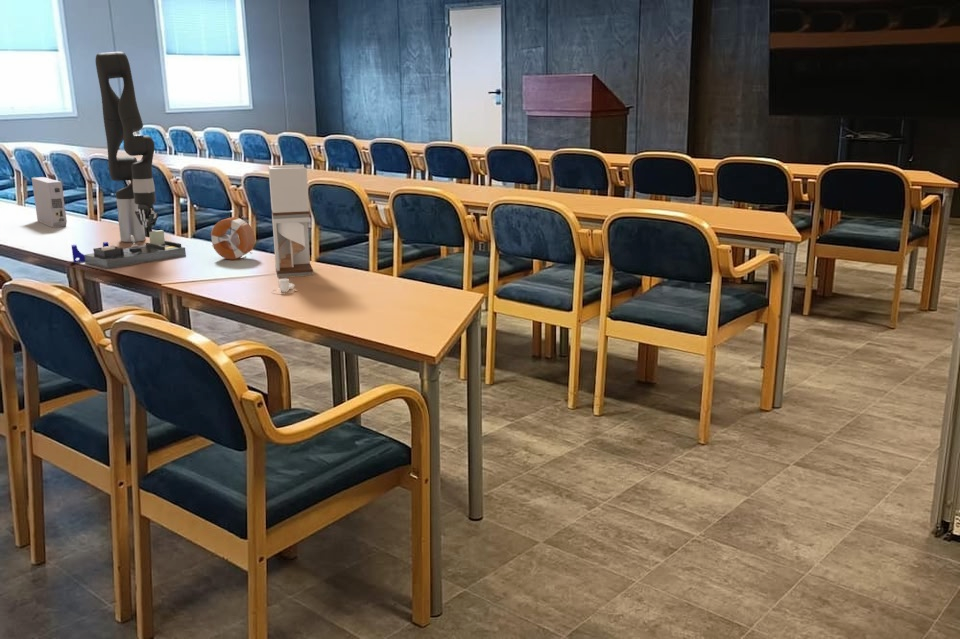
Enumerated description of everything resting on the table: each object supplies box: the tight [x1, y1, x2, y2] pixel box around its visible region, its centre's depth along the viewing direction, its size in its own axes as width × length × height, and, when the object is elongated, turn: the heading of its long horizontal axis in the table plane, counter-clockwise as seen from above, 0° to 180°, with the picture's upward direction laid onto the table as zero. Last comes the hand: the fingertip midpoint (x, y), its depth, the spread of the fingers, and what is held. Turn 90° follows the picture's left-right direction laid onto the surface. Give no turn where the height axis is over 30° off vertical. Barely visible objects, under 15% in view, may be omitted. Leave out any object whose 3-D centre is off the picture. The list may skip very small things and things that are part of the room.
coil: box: [210, 215, 256, 261], centre depth 318 cm, size 7×15×15 cm, turn 78°
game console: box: [31, 176, 68, 228], centre depth 398 cm, size 6×27×20 cm, turn 40°
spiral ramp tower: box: [268, 164, 314, 278], centre depth 291 cm, size 11×11×35 cm
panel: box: [84, 240, 187, 270], centre depth 320 cm, size 16×30×6 cm, turn 139°
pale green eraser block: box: [148, 229, 166, 245], centre depth 330 cm, size 2×5×5 cm, turn 139°
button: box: [100, 245, 115, 250], centre depth 312 cm, size 4×4×3 cm
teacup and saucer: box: [278, 278, 296, 293], centre depth 270 cm, size 9×8×4 cm
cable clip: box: [71, 241, 110, 263], centre depth 320 cm, size 12×4×6 cm, turn 118°
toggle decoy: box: [130, 235, 140, 248], centre depth 320 cm, size 1×2×5 cm, turn 139°
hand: (149, 236), depth 333 cm, fingers closed
